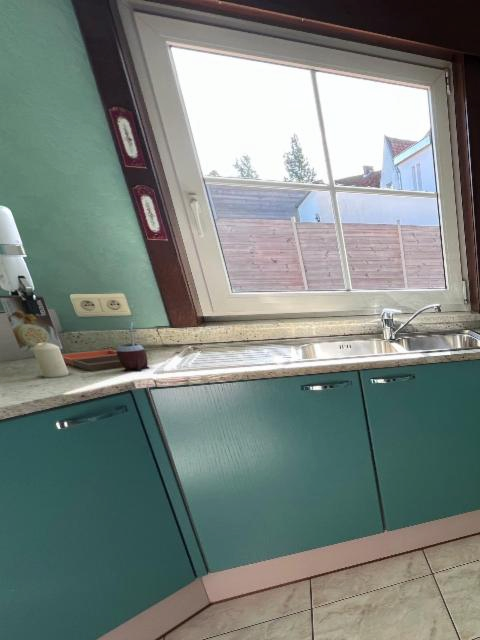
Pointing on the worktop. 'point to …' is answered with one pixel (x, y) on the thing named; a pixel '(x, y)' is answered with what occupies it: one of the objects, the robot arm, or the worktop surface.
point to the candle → (50, 360)
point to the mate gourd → (132, 355)
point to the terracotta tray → (87, 355)
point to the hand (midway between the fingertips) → (28, 312)
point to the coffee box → (30, 323)
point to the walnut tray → (98, 363)
